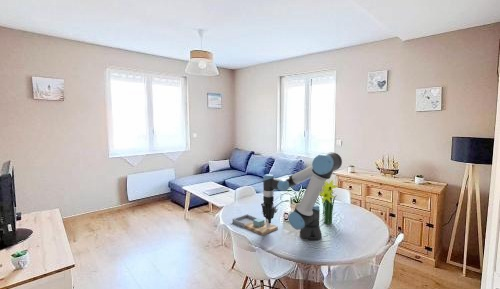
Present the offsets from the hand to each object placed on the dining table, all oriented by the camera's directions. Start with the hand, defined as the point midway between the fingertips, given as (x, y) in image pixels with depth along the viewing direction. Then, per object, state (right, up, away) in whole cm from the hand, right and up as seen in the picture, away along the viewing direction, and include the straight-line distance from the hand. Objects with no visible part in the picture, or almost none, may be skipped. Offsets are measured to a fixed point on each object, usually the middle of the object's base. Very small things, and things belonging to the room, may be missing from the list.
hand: (268, 227), depth 195 cm
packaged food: (+3, -2, +36) cm, 36 cm away
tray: (-17, -2, +18) cm, 25 cm away
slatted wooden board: (-5, -3, +6) cm, 8 cm away
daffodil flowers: (+47, -2, +13) cm, 49 cm away
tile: (-7, -1, +7) cm, 10 cm away
